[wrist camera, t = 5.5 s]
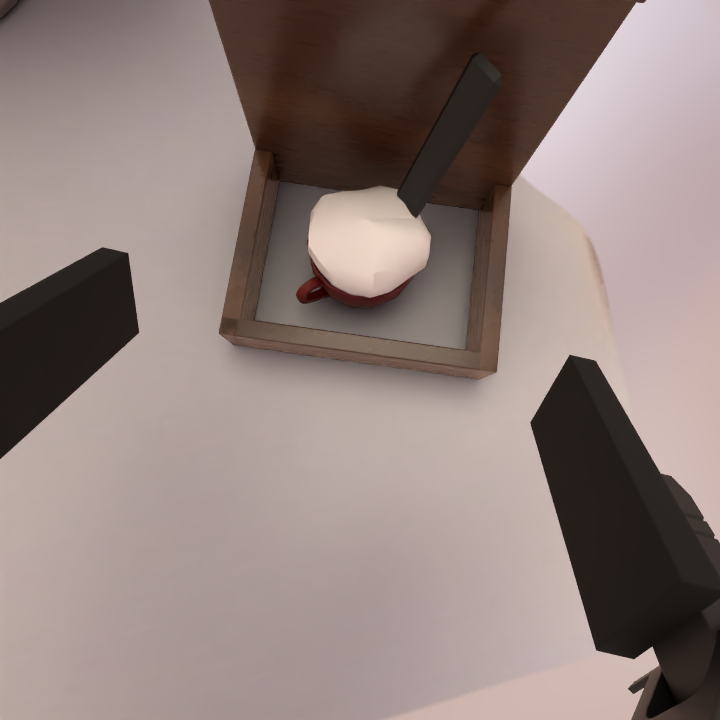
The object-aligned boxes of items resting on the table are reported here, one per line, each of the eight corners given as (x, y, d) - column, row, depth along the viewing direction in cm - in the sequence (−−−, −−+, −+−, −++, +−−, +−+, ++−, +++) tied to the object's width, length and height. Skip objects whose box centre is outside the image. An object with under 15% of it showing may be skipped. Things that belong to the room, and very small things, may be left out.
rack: (269, 155, 28) (181, -163, 13) (496, 188, 28) (668, -87, 13) (232, 344, 25) (78, 224, 11) (479, 379, 26) (663, 308, 11)
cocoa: (307, 334, 26) (276, 250, 14) (284, 239, 27) (236, 86, 15) (455, 297, 26) (546, 189, 15) (428, 207, 27) (491, 37, 16)
